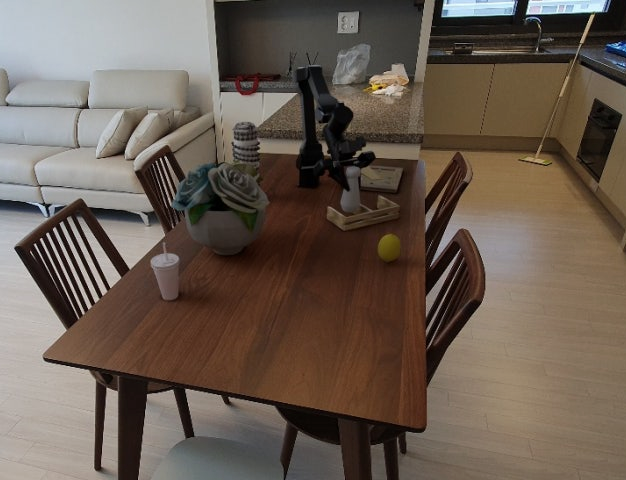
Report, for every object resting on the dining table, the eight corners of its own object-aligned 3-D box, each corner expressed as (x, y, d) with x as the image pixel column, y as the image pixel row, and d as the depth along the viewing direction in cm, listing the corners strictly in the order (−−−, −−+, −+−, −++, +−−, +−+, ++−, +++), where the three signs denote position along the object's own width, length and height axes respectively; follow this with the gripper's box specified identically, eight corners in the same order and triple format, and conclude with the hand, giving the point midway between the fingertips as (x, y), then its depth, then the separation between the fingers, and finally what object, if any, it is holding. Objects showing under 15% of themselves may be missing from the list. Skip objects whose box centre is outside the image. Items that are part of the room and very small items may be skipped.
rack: (326, 218, 142) (327, 206, 139) (378, 207, 148) (380, 195, 146) (344, 231, 134) (345, 218, 132) (398, 218, 141) (400, 205, 138)
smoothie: (171, 306, 104) (163, 251, 96) (150, 298, 107) (140, 245, 99) (189, 292, 108) (182, 239, 101) (169, 285, 111) (161, 233, 104)
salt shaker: (358, 206, 140) (363, 164, 133) (360, 213, 135) (365, 171, 128) (339, 205, 141) (342, 164, 134) (340, 213, 136) (343, 170, 129)
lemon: (399, 258, 120) (403, 230, 115) (397, 268, 115) (401, 240, 111) (377, 255, 121) (381, 228, 117) (374, 265, 117) (378, 237, 112)
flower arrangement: (254, 278, 113) (250, 182, 100) (165, 262, 121) (151, 172, 108) (284, 235, 133) (285, 151, 119) (206, 224, 140) (199, 144, 127)
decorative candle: (256, 205, 152) (254, 127, 138) (230, 202, 155) (225, 126, 141) (265, 195, 159) (263, 120, 146) (240, 192, 162) (236, 119, 148)
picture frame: (354, 167, 182) (342, 188, 163) (354, 163, 181) (342, 183, 162) (402, 171, 176) (396, 193, 158) (403, 167, 175) (396, 188, 157)
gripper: (319, 131, 125) (339, 182, 123) (376, 122, 131) (395, 171, 129) (304, 152, 135) (322, 200, 133) (357, 143, 142) (375, 189, 139)
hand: (354, 189), depth 133 cm, fingers closed on salt shaker, 3 cm apart
